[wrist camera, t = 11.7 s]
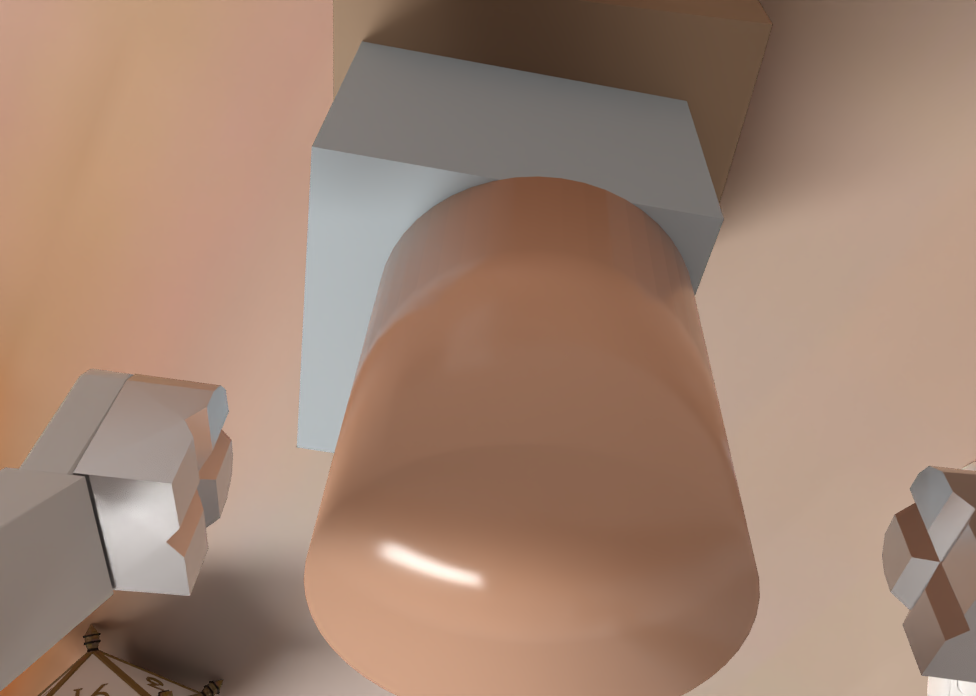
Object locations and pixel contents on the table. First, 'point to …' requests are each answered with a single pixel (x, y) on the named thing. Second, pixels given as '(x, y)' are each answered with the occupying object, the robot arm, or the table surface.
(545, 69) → the walnut block
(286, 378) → the table surface
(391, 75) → the blue-grey cube
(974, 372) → the table surface
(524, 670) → the terracotta capsule
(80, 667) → the game die
